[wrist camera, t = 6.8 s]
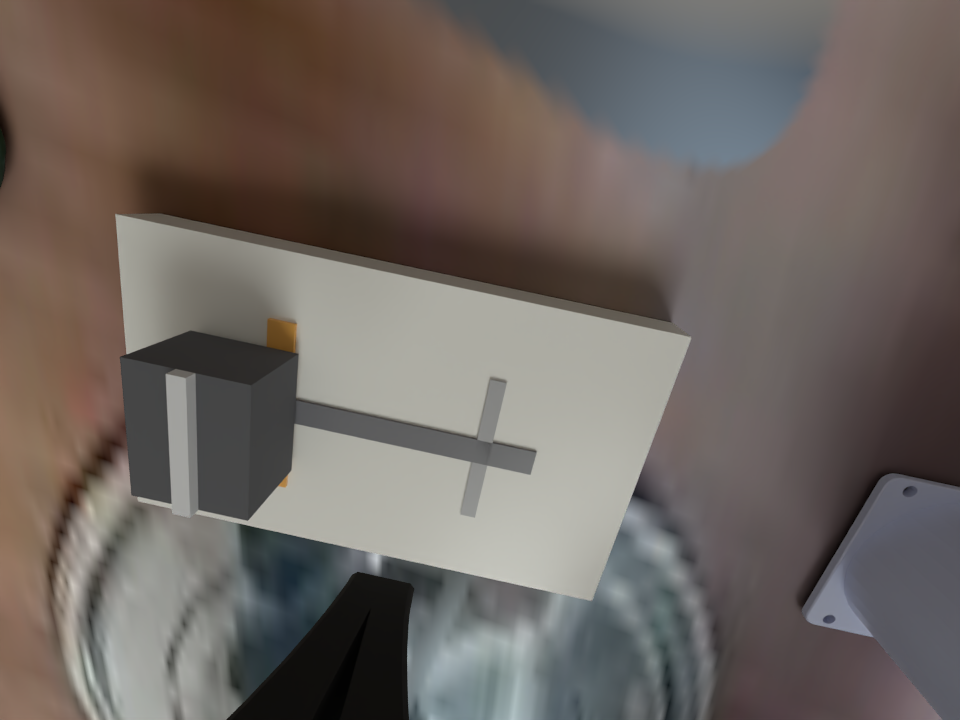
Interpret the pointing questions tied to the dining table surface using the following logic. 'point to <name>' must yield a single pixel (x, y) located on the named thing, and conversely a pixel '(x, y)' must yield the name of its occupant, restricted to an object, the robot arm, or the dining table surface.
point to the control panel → (423, 398)
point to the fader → (209, 422)
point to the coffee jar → (2, 156)
